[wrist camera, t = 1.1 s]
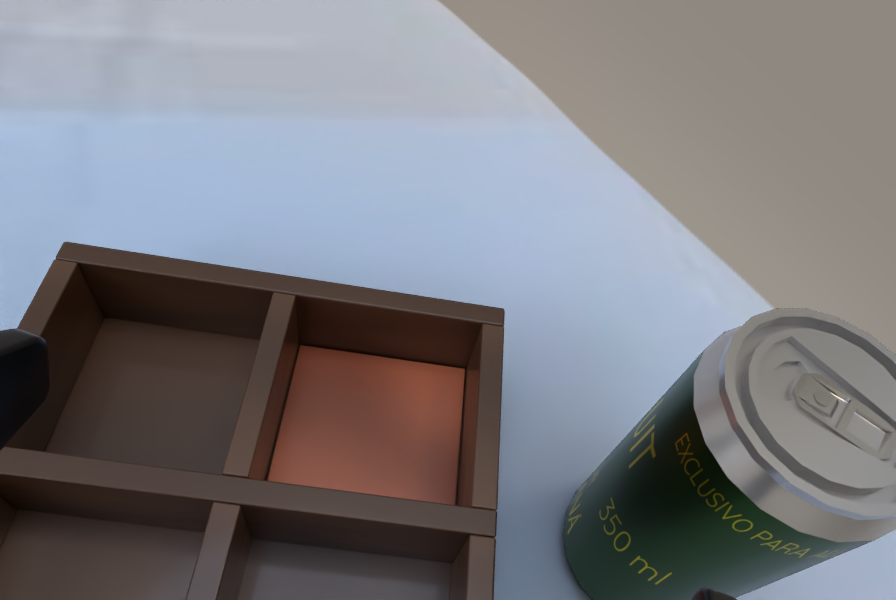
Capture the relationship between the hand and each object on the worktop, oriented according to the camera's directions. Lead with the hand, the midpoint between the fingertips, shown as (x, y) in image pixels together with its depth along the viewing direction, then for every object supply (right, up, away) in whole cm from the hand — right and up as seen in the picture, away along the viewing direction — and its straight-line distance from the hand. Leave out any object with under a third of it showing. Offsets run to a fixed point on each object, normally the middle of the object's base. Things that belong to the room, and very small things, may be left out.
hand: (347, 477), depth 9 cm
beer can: (+8, -7, +16) cm, 19 cm away
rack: (-6, -5, +14) cm, 16 cm away
